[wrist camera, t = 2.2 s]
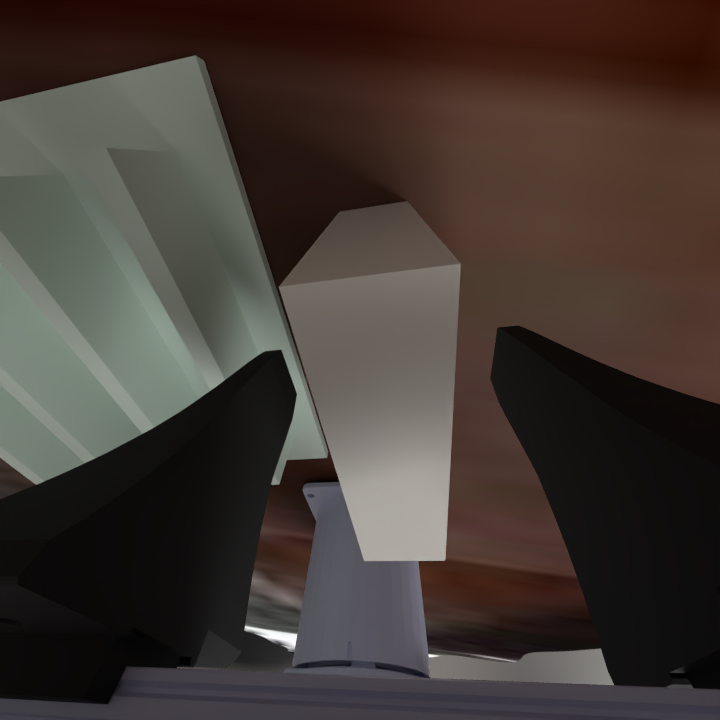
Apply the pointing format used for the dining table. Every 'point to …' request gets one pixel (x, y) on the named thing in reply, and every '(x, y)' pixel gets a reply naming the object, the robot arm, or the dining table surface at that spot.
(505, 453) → the dining table surface
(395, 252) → the tile plate
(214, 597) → the robot arm
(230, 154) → the dish rack
